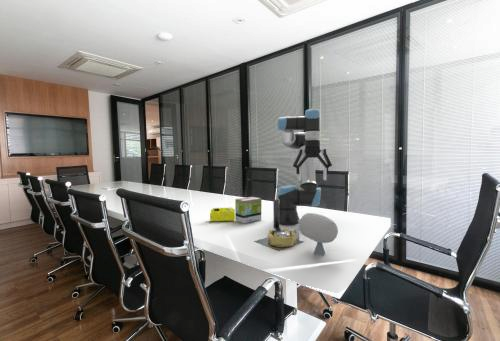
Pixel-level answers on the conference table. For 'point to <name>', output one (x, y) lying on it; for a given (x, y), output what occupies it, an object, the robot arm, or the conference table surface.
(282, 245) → the tan base with handle
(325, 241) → the grey oval on stand
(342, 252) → the conference table surface
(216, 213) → the yellow toy chassis
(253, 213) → the tea box
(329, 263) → the conference table surface
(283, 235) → the plate
